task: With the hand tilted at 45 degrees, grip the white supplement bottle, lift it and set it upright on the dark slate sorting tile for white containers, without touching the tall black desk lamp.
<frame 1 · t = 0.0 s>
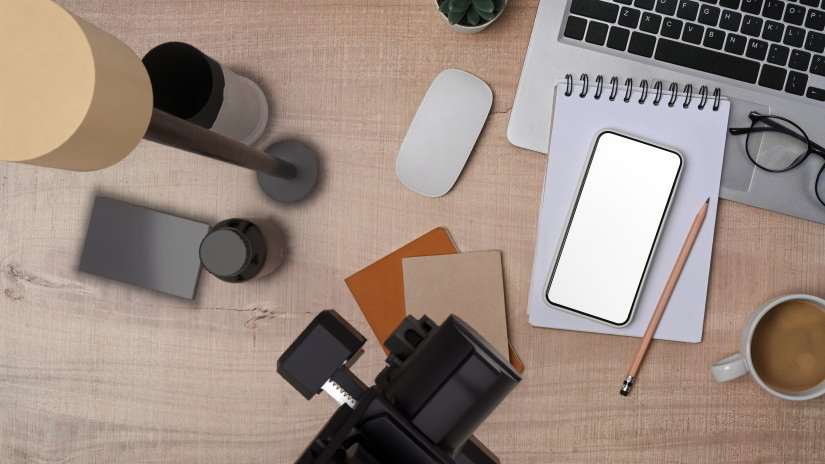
hand: (397, 387, 55), 15 cm above the table, tool pointing down, fingers open, 9 cm apart
glass holder: (209, 110, 71), on the table
slate tile: (145, 247, 71), on the table
supplement bottle: (259, 247, 71), on the table
desk lamp: (290, 172, 70), on the table
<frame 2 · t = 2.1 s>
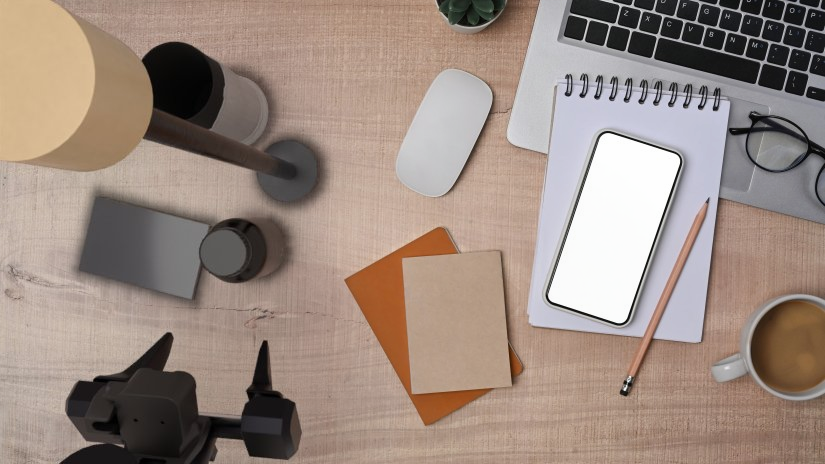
hand: (218, 338, 57), 13 cm above the table, tool tilted 45°, fingers open, 9 cm apart
nothing on the table moved.
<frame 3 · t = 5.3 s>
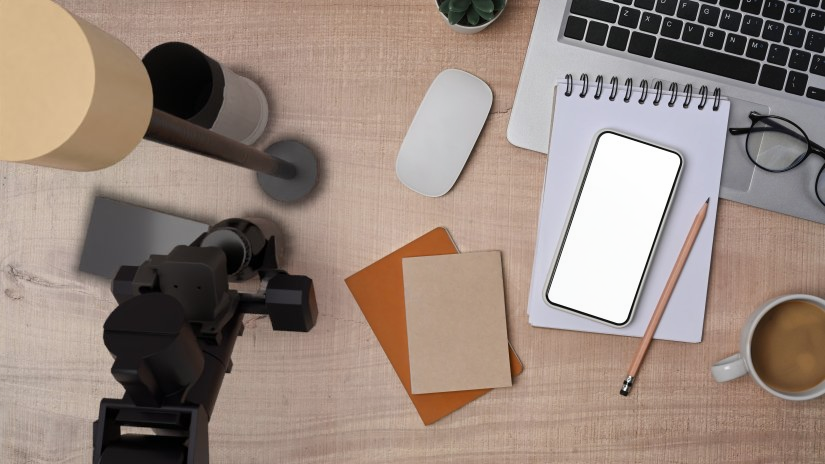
hand: (240, 236, 64), 7 cm above the table, tool tilted 45°, fingers closed on supplement bottle, 7 cm apart
supplement bottle: (259, 247, 71), on the table, touching gripper
everything else where it was.
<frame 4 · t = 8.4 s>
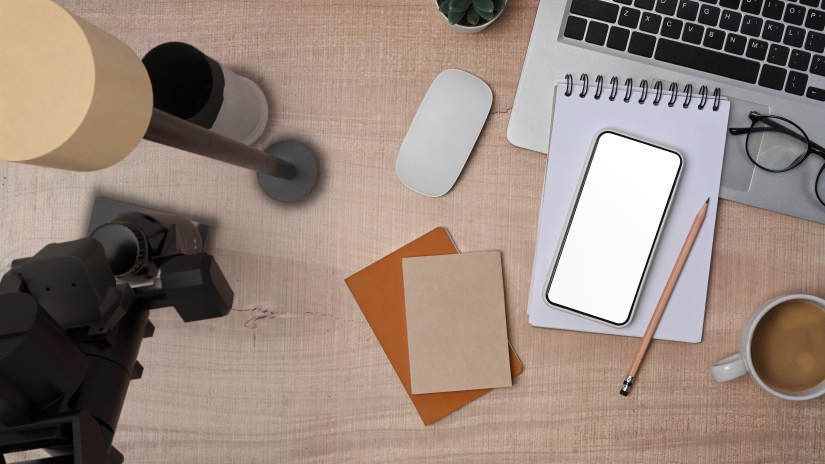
hand: (140, 232, 58), 13 cm above the table, tool tilted 45°, fingers closed on supplement bottle, 7 cm apart
supplement bottle: (173, 245, 64), point 7 cm above the table, touching gripper
everything else where it was.
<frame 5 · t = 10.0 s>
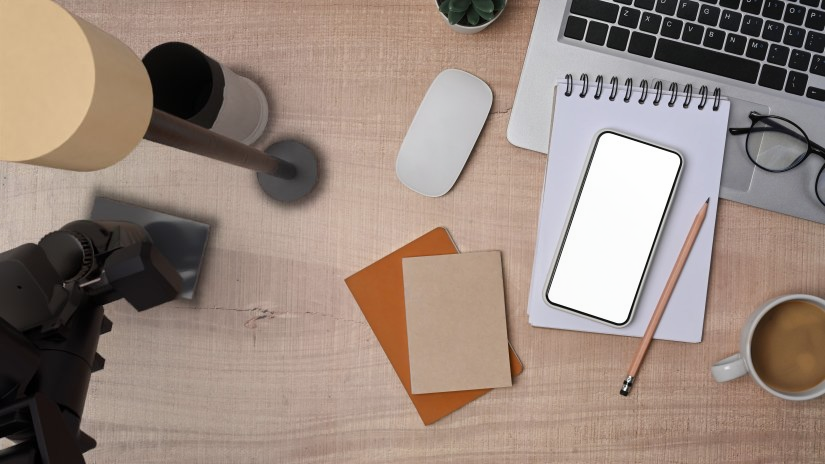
hand: (88, 240, 60), 11 cm above the table, tool tilted 45°, fingers closed on supplement bottle, 7 cm apart
supplement bottle: (128, 251, 67), point 4 cm above the table, touching gripper
everything else where it was.
when the fingers open (7 cm above the table, at t = 11.6 s): supplement bottle stays where it is, resting on slate tile.
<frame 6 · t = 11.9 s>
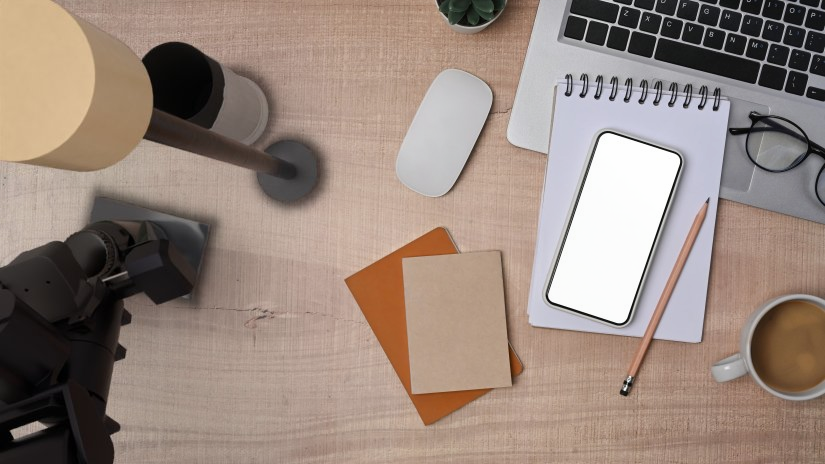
hand: (106, 237, 64), 7 cm above the table, tool tilted 45°, fingers open, 9 cm apart
supplement bottle: (144, 249, 71), resting on slate tile
everything else where it was.
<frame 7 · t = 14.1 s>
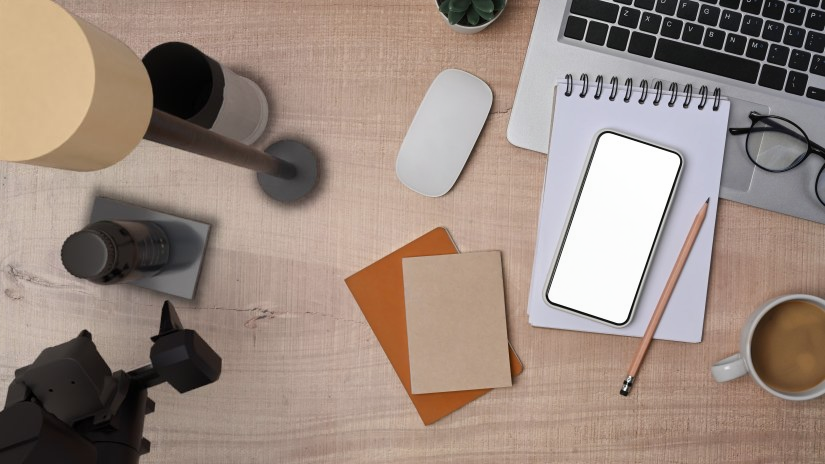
hand: (127, 317, 63), 9 cm above the table, tool tilted 45°, fingers open, 9 cm apart
nothing on the table moved.
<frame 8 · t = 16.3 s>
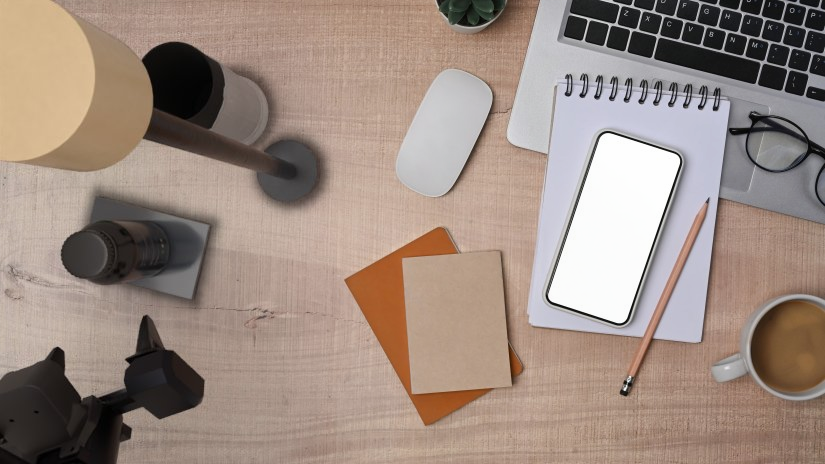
hand: (103, 333, 58), 14 cm above the table, tool tilted 45°, fingers open, 9 cm apart
nothing on the table moved.
at the end: supplement bottle 0.1 cm off-centre on the slate tile, point 0.4 cm above the slate tile's base; supplement bottle tilted 0°; supplement bottle touching slate tile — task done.
